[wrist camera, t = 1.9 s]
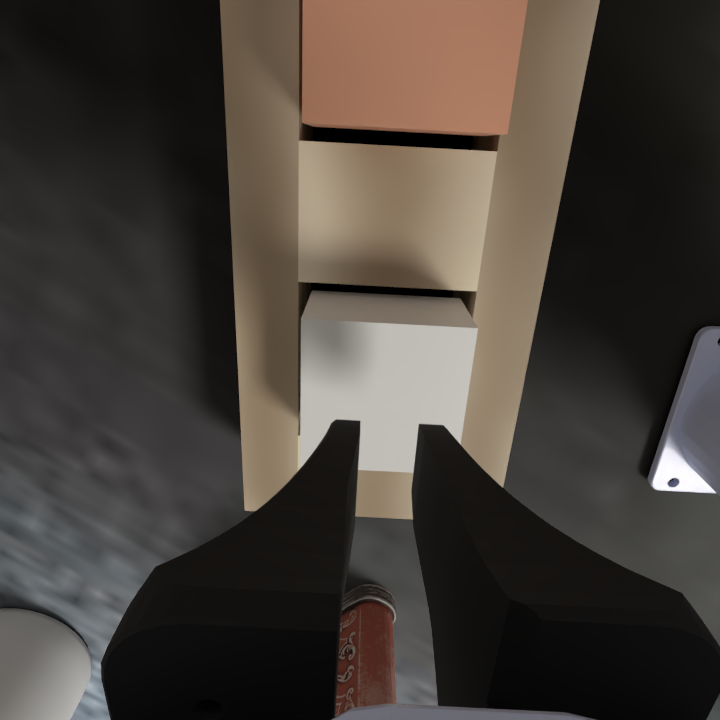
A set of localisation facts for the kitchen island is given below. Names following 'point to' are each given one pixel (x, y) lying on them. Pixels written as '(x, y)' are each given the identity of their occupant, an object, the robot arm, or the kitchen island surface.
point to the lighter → (366, 649)
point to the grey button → (384, 371)
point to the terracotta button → (411, 64)
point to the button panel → (388, 230)
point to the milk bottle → (40, 667)
